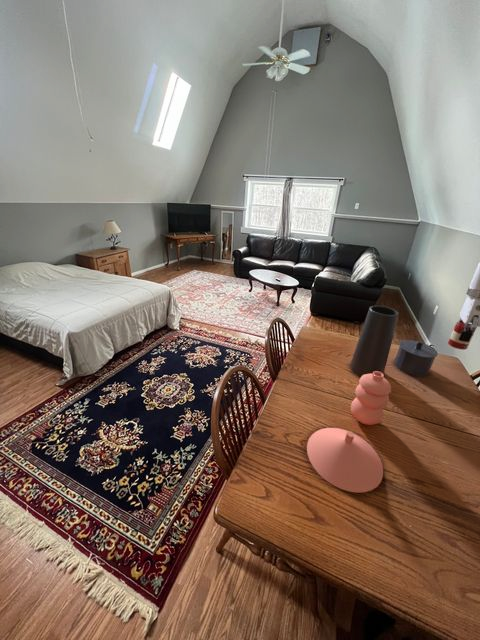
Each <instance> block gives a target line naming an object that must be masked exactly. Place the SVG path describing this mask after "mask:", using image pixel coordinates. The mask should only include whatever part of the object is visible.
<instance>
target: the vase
mask: <svg viewBox="0 0 480 640" xmlns="http://www.w3.org/2000/svg"><path fill="white" fill-rule="evenodd" d="M399 315H400V313H399V312H398V311H397V310H396V309H394V308H391V307H388V306H385V305H371V306H370V307H369V308H368V311H367V314H366V317H365V320H364V322H363V326H362V328H361V330H360V335H359V337H358V340H357V343H356V346H355V349H354V352H353V355H352V358H351V361H350V364H349V369H350V371H351V372H352V373H353V374H354V375H356V376H358V377H360V378H361V377H362V376H363V375H365V374H373V372H374V371H378V372H381V373H383V375H384V374H385V370H386V366H387V363H388V358H389V354H390V350H391V347H392V342H393V338H394V336H395V331H396V327H397V324H398V319H399Z"/></svg>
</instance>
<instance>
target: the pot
mask: <svg viewBox="0 0 480 640" xmlns="http://www.w3.org/2000/svg"><path fill="white" fill-rule="evenodd" d="M435 359H436V357H435V358H422V357H418V356H414V355H412V354H409V353H407V352H406V351H404V350H403V349H401V347H400V346H399V347H398V350H397V352H396V356H395V359H394V362H393V363H394V366H395V367H396V368H397V369H399V370H400V371H402V372H404V373H406V374H408V375H412V376H416V377H425V376H428V374H429V373H430V370H431V368H432V367H433V364H434V361H435Z"/></svg>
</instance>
